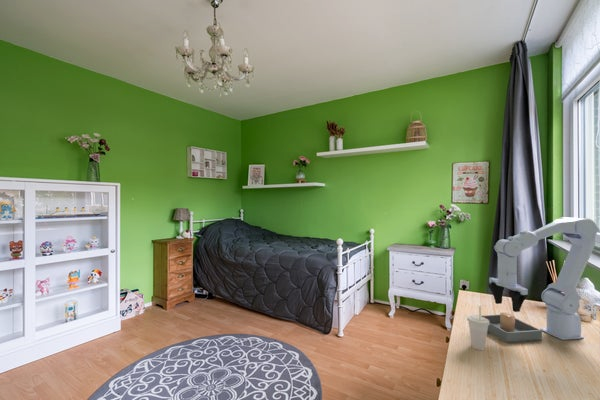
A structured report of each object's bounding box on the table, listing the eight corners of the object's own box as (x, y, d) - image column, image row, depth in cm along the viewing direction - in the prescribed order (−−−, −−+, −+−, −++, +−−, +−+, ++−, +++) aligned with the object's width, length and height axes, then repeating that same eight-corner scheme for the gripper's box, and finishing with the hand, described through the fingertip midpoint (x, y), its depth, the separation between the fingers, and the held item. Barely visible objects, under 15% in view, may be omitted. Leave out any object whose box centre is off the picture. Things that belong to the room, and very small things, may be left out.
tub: (507, 322, 111) (507, 314, 111) (541, 340, 97) (541, 330, 97) (476, 324, 109) (476, 315, 109) (506, 343, 95) (506, 333, 95)
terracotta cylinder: (508, 327, 105) (508, 312, 105) (517, 333, 101) (517, 317, 101) (497, 327, 105) (497, 312, 105) (506, 333, 101) (506, 317, 101)
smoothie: (493, 353, 89) (493, 310, 89) (471, 351, 90) (471, 309, 90) (484, 343, 95) (484, 303, 95) (464, 341, 96) (464, 301, 96)
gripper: (482, 267, 109) (482, 300, 109) (515, 277, 95) (515, 316, 95) (498, 266, 110) (498, 299, 110) (533, 276, 96) (532, 314, 96)
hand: (507, 307), depth 103 cm, fingers open, 7 cm apart
